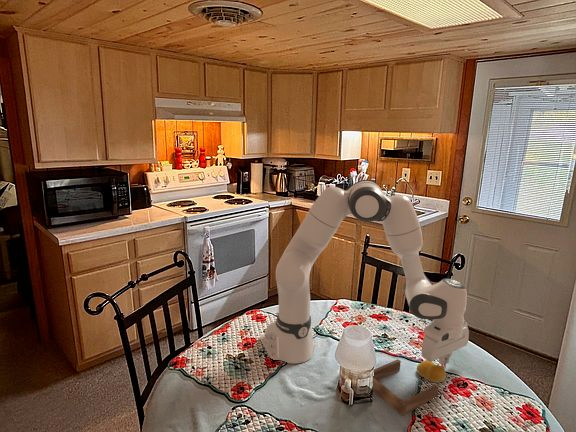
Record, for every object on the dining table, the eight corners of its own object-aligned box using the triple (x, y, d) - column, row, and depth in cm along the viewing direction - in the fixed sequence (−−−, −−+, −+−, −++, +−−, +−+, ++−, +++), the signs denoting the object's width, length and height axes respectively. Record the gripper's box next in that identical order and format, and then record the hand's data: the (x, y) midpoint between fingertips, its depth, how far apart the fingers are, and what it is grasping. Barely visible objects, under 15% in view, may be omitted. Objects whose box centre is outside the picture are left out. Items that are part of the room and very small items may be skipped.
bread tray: (363, 383, 126) (364, 373, 125) (397, 368, 133) (397, 359, 132) (402, 415, 112) (403, 405, 111) (437, 396, 120) (438, 387, 119)
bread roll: (438, 387, 124) (439, 376, 124) (413, 373, 131) (414, 363, 130) (450, 376, 130) (452, 366, 129) (426, 363, 136) (427, 353, 135)
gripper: (459, 315, 138) (454, 349, 141) (420, 330, 127) (416, 367, 131) (476, 323, 132) (470, 358, 136) (436, 339, 122) (431, 378, 125)
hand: (443, 363), depth 133 cm, fingers closed
